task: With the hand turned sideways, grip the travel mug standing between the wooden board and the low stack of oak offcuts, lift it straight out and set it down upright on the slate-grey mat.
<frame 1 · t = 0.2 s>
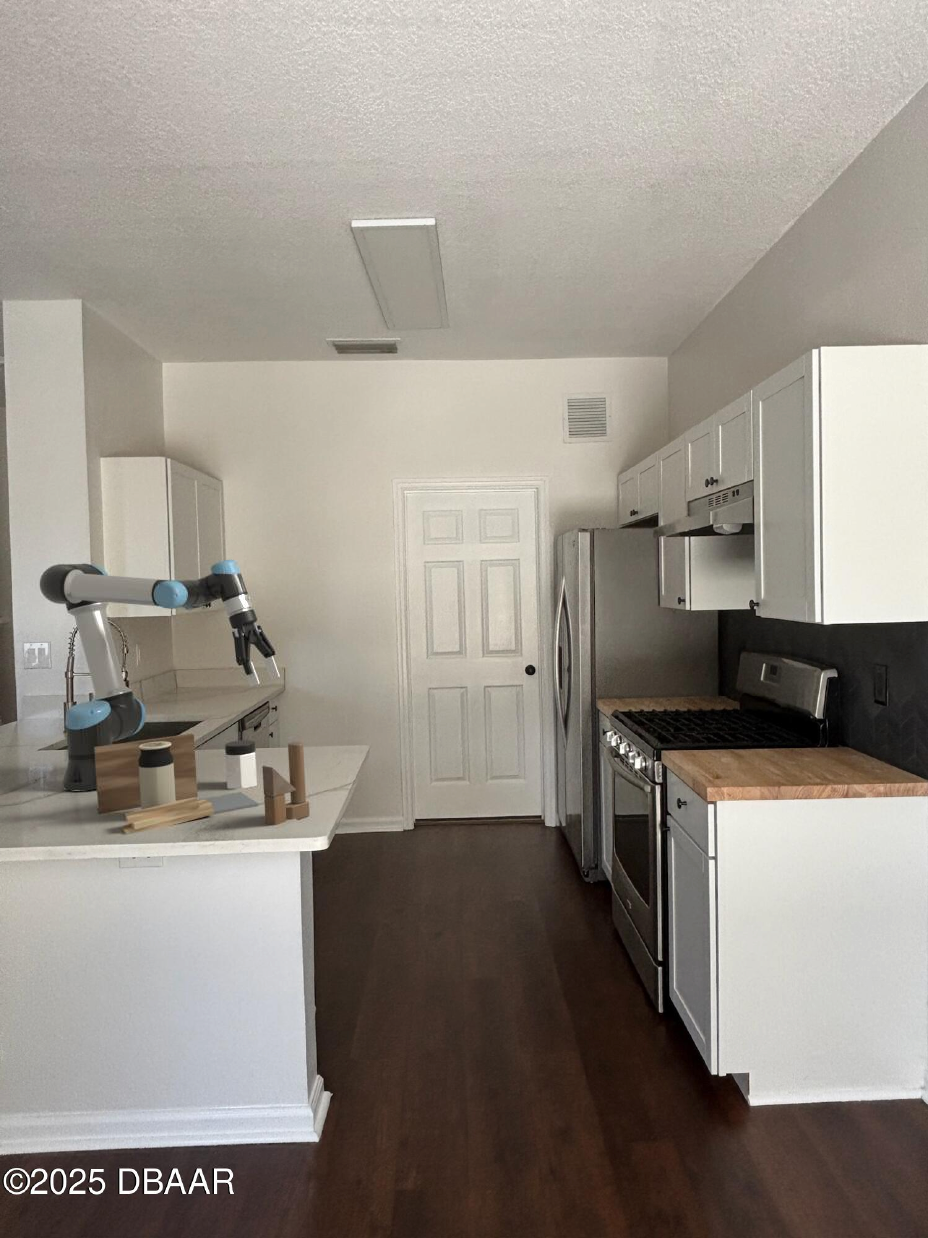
hand: (265, 681, 240), 28 cm above the worktop, tool tilted 20°, fingers open, 13 cm apart
offcut stack: (168, 822, 197), point 1 cm above the worktop, touching mat
wooden board: (149, 807, 213), on the worktop
travel mug: (159, 817, 204), on the worktop
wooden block: (288, 821, 197), on the worktop
mat: (222, 807, 211), on the worktop
jar: (242, 786, 232), on the worktop
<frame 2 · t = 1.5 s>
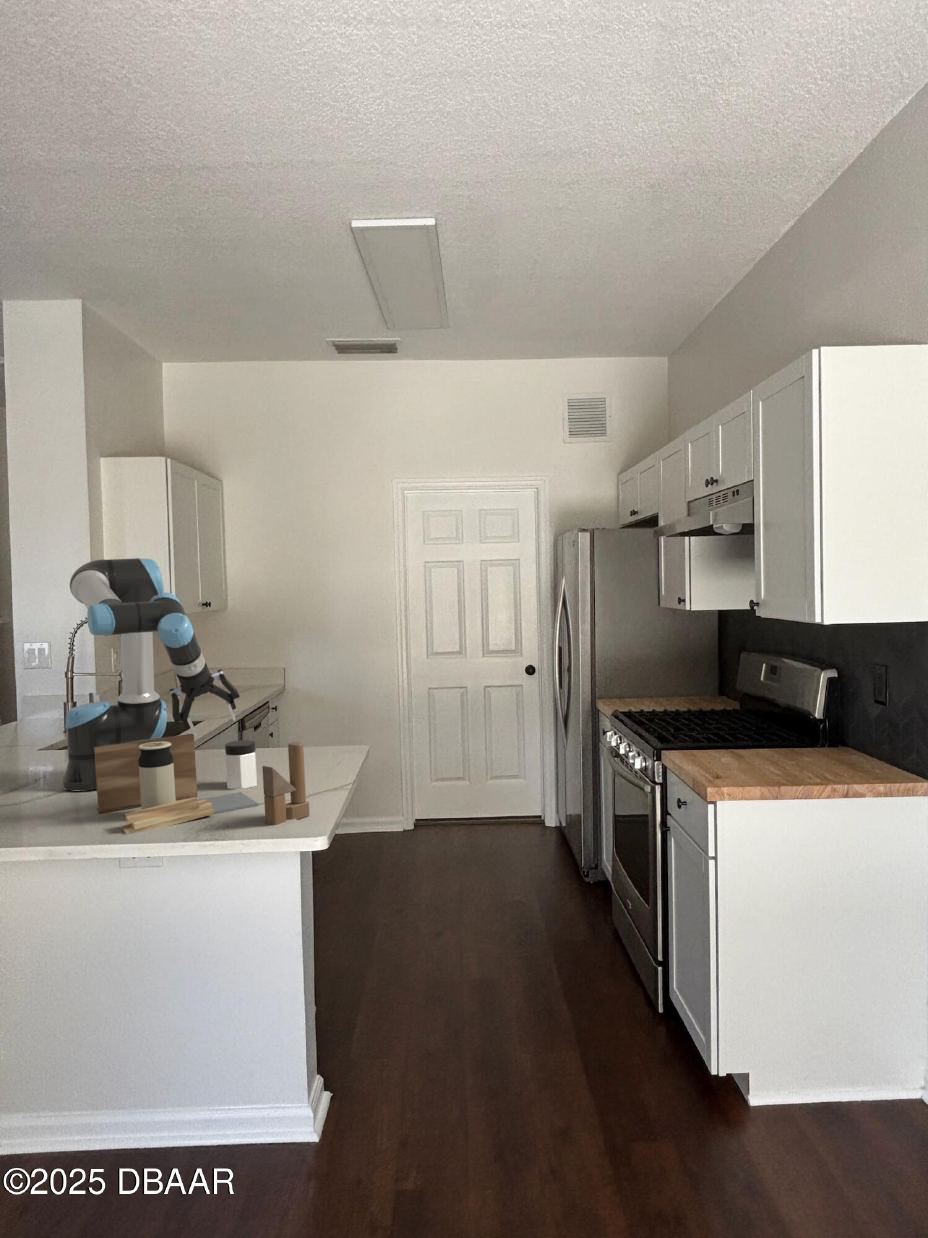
hand: (214, 725, 221), 19 cm above the worktop, tool tilted 40°, fingers open, 10 cm apart
nothing on the worktop moved.
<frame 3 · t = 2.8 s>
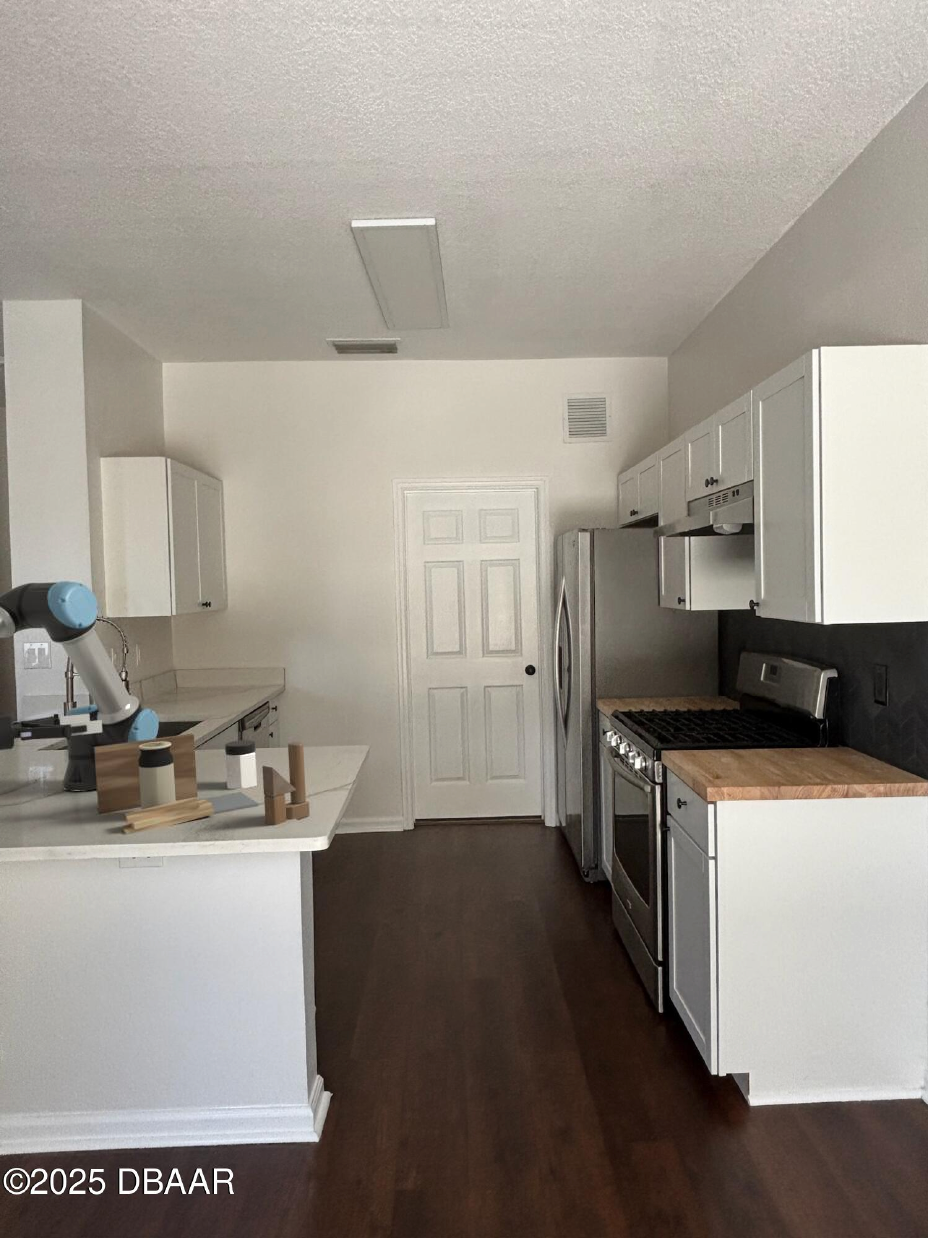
hand: (95, 722, 196), 25 cm above the worktop, tool horizontal, fingers open, 13 cm apart
nothing on the worktop moved.
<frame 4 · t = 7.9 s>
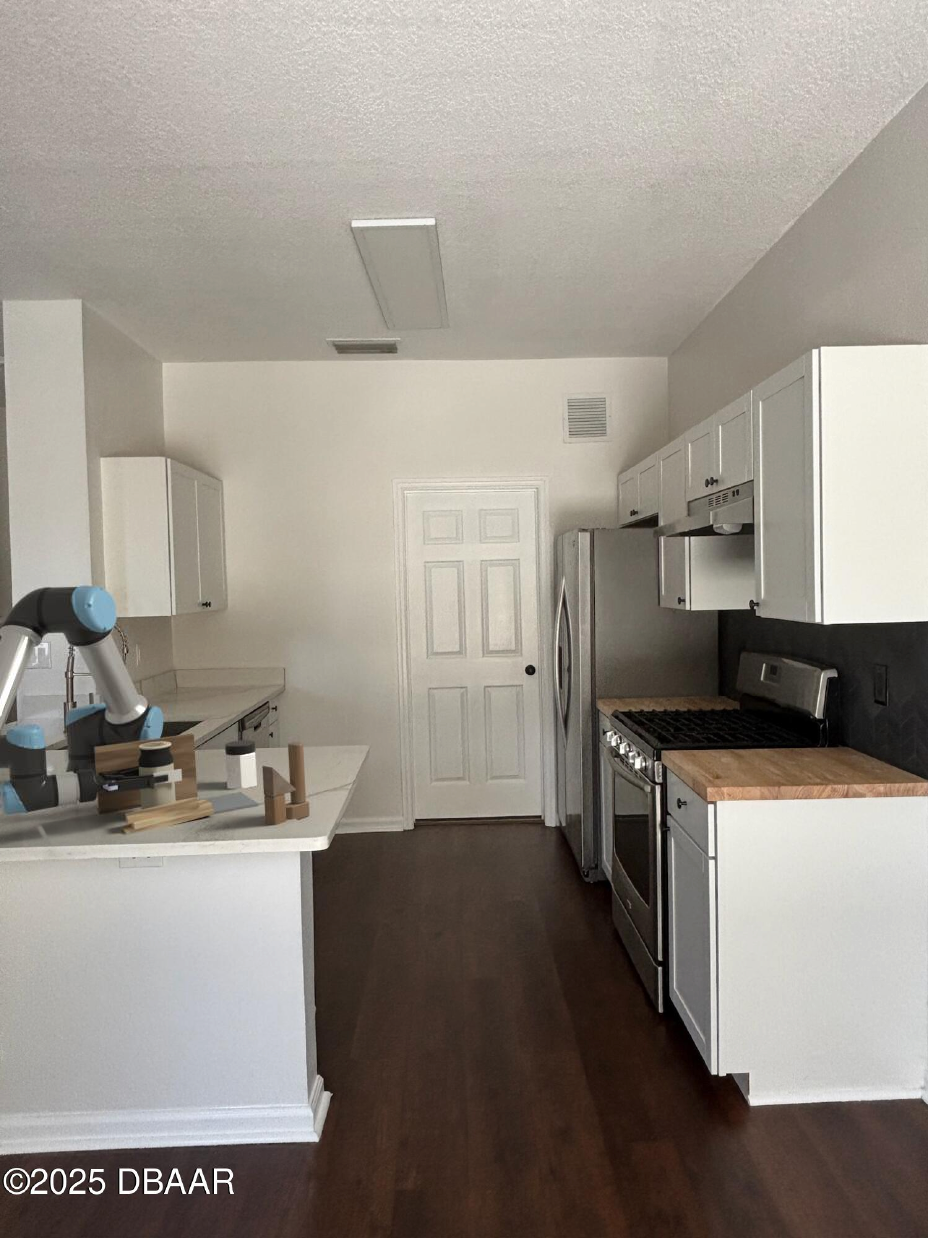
hand: (176, 771, 206), 11 cm above the worktop, tool horizontal, fingers closed on travel mug, 8 cm apart
travel mug: (159, 817, 204), on the worktop, touching gripper
everything else where it was.
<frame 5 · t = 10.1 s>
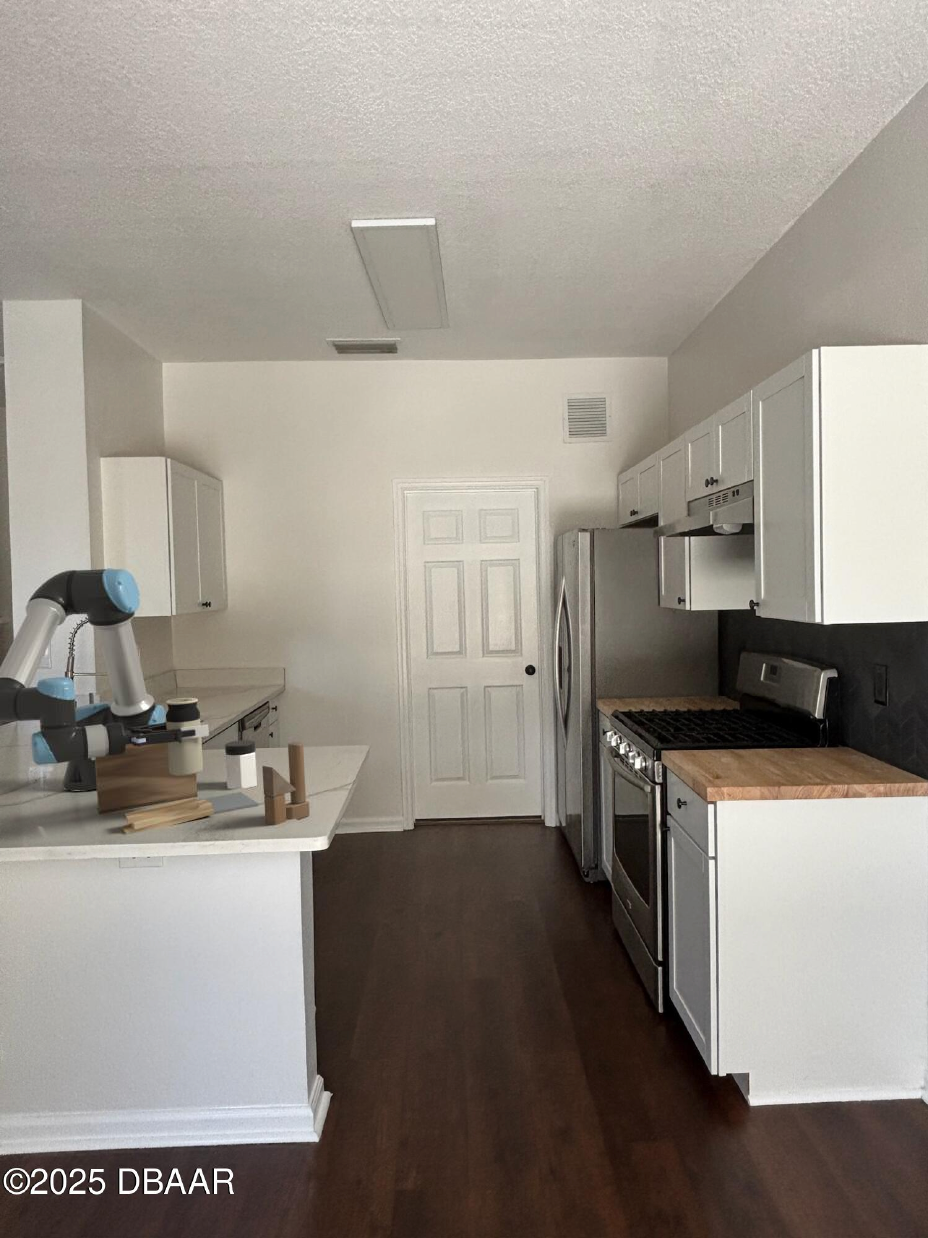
hand: (203, 727, 208), 21 cm above the worktop, tool horizontal, fingers closed on travel mug, 8 cm apart
travel mug: (186, 773, 206), point 10 cm above the worktop, touching gripper
everything else where it was.
when the fingers open (13 cm above the worktop, at t = 12.5 s): travel mug drops 1 cm, resting on mat.
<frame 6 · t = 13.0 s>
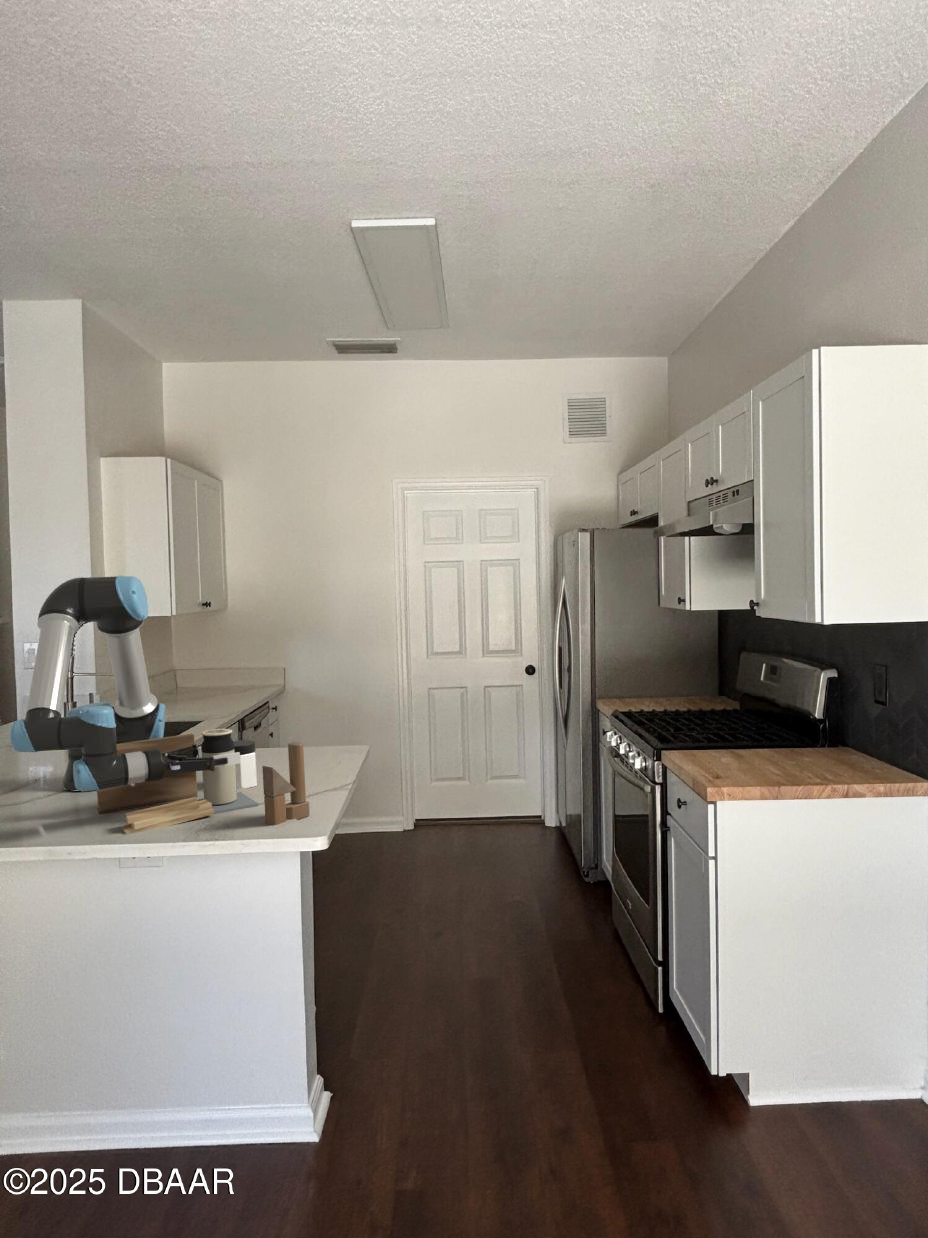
hand: (231, 753, 213), 13 cm above the worktop, tool horizontal, fingers open, 13 cm apart
travel mug: (220, 802, 211), point 1 cm above the worktop, touching mat
everything else where it was.
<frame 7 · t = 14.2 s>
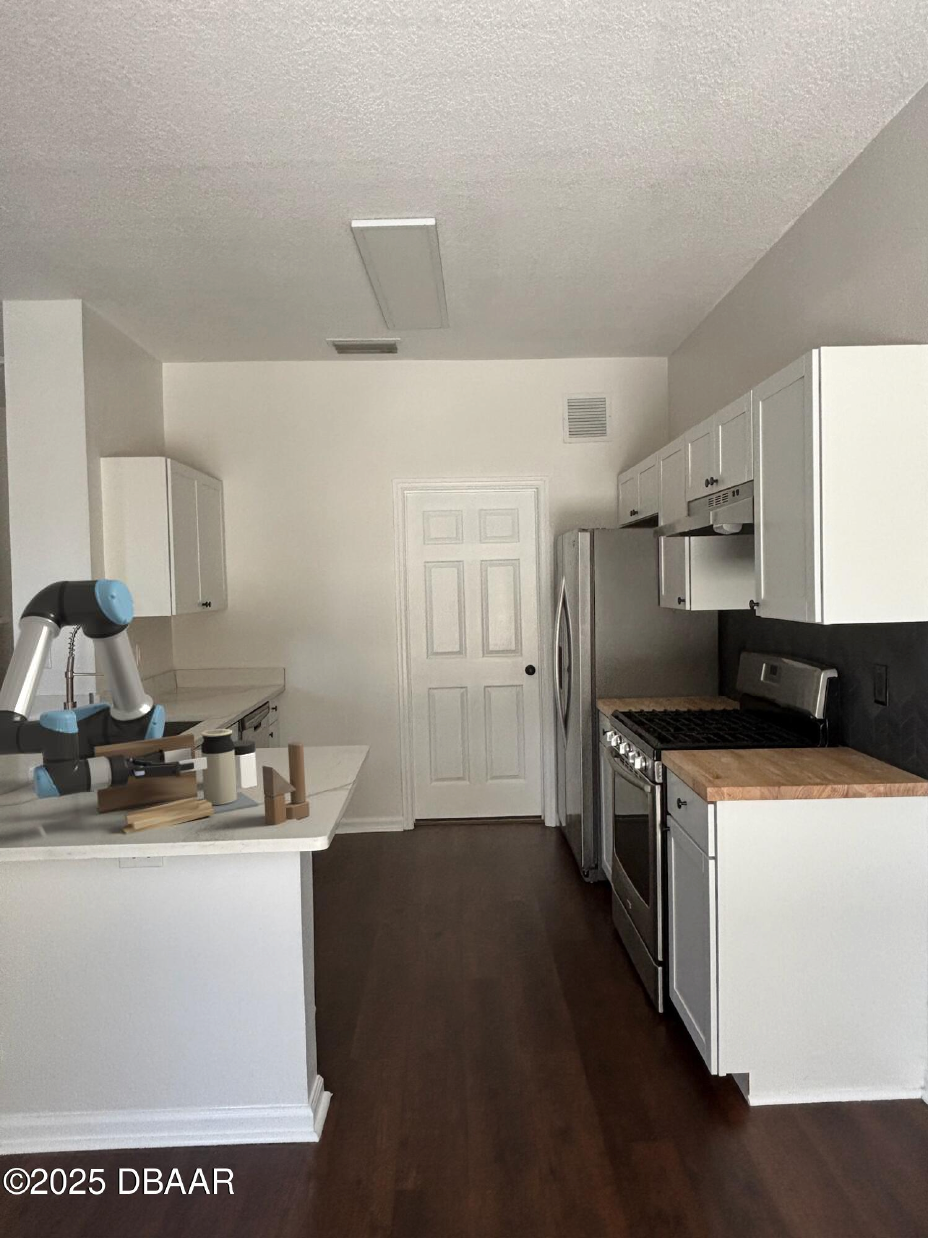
hand: (198, 758, 208), 13 cm above the worktop, tool horizontal, fingers open, 13 cm apart
nothing on the worktop moved.
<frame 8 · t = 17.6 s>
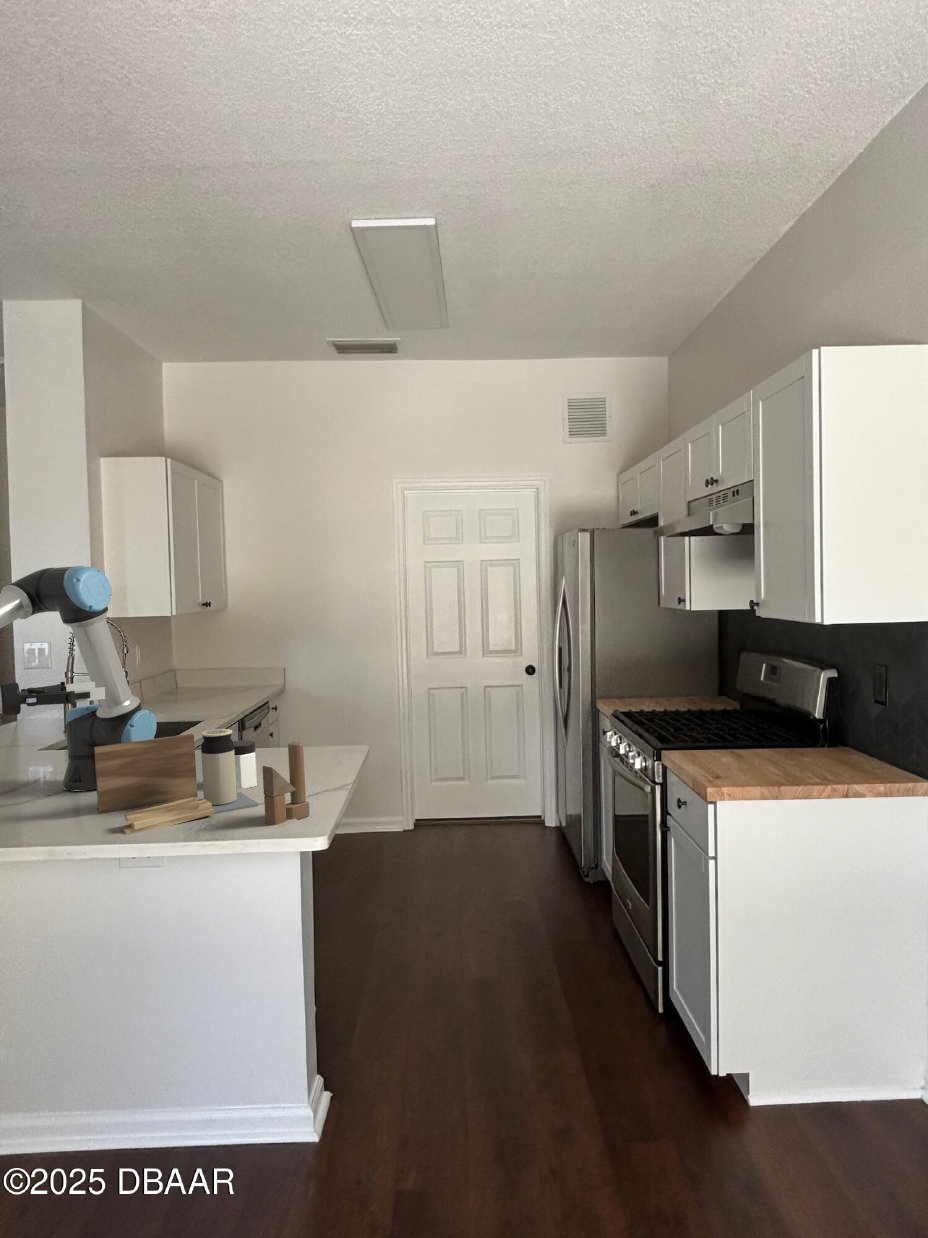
hand: (99, 689, 202), 32 cm above the worktop, tool horizontal, fingers open, 13 cm apart
nothing on the worktop moved.
at the end: travel mug inside the target area on the mat (1.1 cm from its centre), point 1.0 cm above the mat's base; travel mug tilted 0°; the gripper is holding nothing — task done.
